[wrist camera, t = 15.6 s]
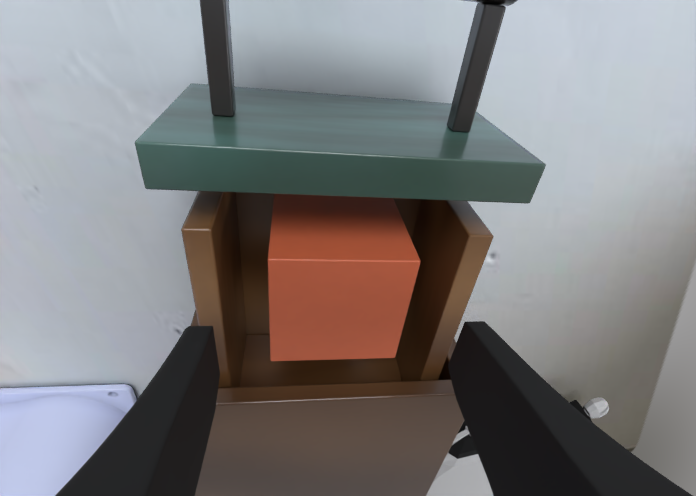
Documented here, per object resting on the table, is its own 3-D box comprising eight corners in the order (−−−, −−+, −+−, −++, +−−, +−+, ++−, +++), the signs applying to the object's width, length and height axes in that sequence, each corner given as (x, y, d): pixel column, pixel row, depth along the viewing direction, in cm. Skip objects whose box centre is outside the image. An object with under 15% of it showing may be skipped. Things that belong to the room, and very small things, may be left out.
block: (276, 269, 17) (270, 362, 13) (275, 179, 14) (267, 259, 10) (372, 270, 18) (395, 358, 14) (387, 184, 15) (421, 261, 11)
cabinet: (206, 270, 19) (165, 406, 13) (425, 271, 21) (478, 393, 15) (228, 418, 27) (209, 547, 21) (386, 410, 28) (410, 527, 22)
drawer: (166, -100, 10) (63, -160, 6) (510, -50, 12) (646, -65, 7) (222, 329, 20) (201, 434, 16) (406, 327, 22) (436, 421, 17)
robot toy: (588, 361, 29) (399, 403, 27) (636, 416, 25) (420, 469, 24) (550, 441, 36) (399, 478, 35) (582, 493, 32) (415, 537, 31)
